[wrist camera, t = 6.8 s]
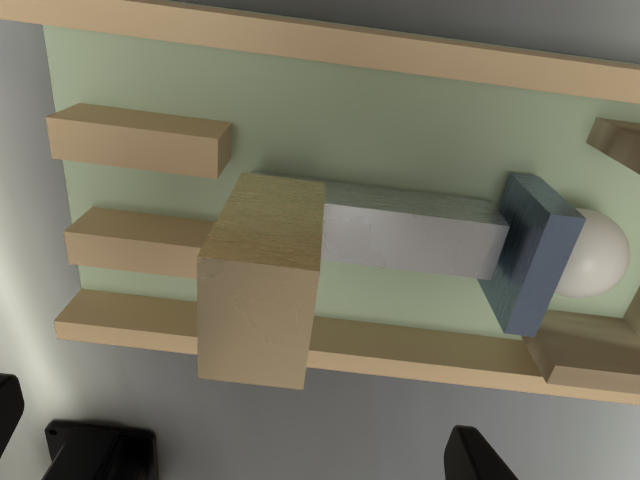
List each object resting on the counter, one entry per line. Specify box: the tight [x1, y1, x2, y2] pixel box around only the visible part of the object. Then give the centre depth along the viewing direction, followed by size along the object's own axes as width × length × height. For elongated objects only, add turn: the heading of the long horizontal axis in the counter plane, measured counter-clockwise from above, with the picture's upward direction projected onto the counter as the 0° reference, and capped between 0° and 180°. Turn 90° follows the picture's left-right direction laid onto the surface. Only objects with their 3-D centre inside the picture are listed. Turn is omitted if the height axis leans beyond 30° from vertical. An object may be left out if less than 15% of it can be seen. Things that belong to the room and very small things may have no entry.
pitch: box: [0, 0, 640, 405], centre depth 19 cm, size 14×27×4 cm, turn 83°
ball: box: [554, 208, 630, 298], centre depth 19 cm, size 4×4×4 cm
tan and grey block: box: [197, 171, 586, 390], centre depth 16 cm, size 5×12×8 cm, turn 83°
